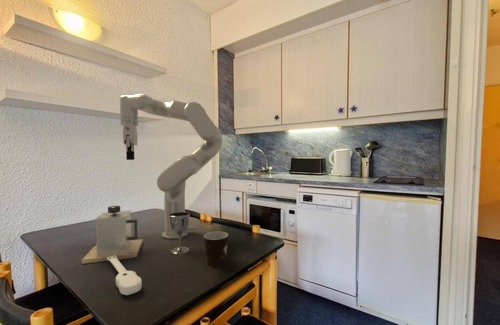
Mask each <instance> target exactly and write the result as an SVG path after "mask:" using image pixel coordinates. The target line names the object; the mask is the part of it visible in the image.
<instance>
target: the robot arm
mask: <svg viewBox="0 0 500 325" xmlns="http://www.w3.org/2000/svg"><path fill="white" fill-rule="evenodd" d="M119 111H120V112H119V113H120V125H121V126H122V142H123V144H124V145H125V147H126V148H125V150H126V152H125V154H126V160H127V161H130V160H131V161H134V160H135V146H138V145H139V144H138V143H139V142H138V128H137V127H138V126H139V116H138V115H139V111H142V112H144V113H146V114H150V115H153V116H158V117H164V118H170V119H175V120H181V121H185V122H189V124H190V125H191V126H192V127H193V129H194V130H195V131H196V133H197V135H198V136H199V137H200V138H201V139H202V140H203V141H204V142H203V143H201V144H200V145H199V146H198V147H197V148H196V149H194V151H192V153H190V154H189V155H182V156H181V157H179V158H178V159H176V160H175V161H173V163H171V164H170V165H169V166H168V167H167V168H166V169H164V170H163V171H162V172H161V173H160V174H158V175H159V176H158V178H157V180H156V185H157V188H158V189H159V190H160V191H161V192H163V193H164V200H163V201H164V207H163V208H164V231H163V232H162V233H161V237H162V238H163V239H167V240H170V239H171V240H174V239H178V236H177V234H176V233H175V232H174V231H173V230H172V229H171V227H170V222H169V214H171V213H174V212H186V185H187V184H186V181H187V180H188V179H190V178H191V177H192V176H194V175H196V174H197V173H198V172H199V171H200V170H201V169H203V167H205V166H206V165H207V164H208V163H209V162H211V160H212V159H213V158H214V157H216V155H218V153H219V152H220V151H221V148H222V144H223V137H222V133H221V130H220V129H219V127H218V126H216V124H215V123H214V122H213V120H212V119H211V118H210V116H209V115H208V113H207V112H206V109H205V108H204V107H203V105H202V104H200V103H199V102H196V101H190V102H185V101H184V102H183V101H179V100H171V101H169V102H168V101H162V100H157V99H153V98H152V97H150V96H148V95H146V94H144V93H138V94H134V95H133V94H132V95H130V94H125V95H124V94H123V95H121V96H120V98H119ZM192 230H196V225H192V224H189V225H188V228H187V229H186V230H185V232H184V233H183V235H182V237H181V238H184V237H187V236H188V235H189V233H190V231H192Z"/></svg>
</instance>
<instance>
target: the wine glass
mask: <svg viewBox="0 0 500 325" xmlns="http://www.w3.org/2000/svg"><path fill="white" fill-rule="evenodd" d="M190 216H191V215H190V212H189V211H185V212H174V213H171V214H169V222H170V227H171V229H172V230H173V231H174V232H175V233H176V234H177V236H178V238H177V239H178V247H175V248H172V249H171V251H170V253H172V255H173V254H174V255H183V254H185V253H187V252H189V251H190V248H189V247H186V246H182V238H183V237H182V235H183V233H184V232H185V230H186V229H187V228H188V226H189V225H190Z"/></svg>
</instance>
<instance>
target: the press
mask: <svg viewBox="0 0 500 325" xmlns="http://www.w3.org/2000/svg"><path fill="white" fill-rule="evenodd" d="M131 213H132V210H124V211H123V210H122V211H121V210H120V212H117V213H116V215H112V213H108V211H107V212H102V213H101V214H100V215H98V216H97V217H96V218H94V220H95V221H94V222H95V230H96V231H95V232H96V234H95V236H96V237H97V238H96V244H95V245H94V246H93V247H92V248H91V249H90V250H89V252H88V253H87V254H86V255H85V256H83V258H82V259H81V265H85V264H92V263H93V264H94V263H101V262H107V261H108V262H110V261H109V260H107V258H108V257H110V256H117V259H118V260H125V259H131V258H132V259H133V258H137V256H138V254H139V252H140V250H141V247H142V246H143V242H144V241H143V239H142V238H141V239H139V230H138V228H139V226H138V225H139V224H138V218H134V219H132V218H131V216H132V215H131ZM132 224H134V225H133V226H134V227H133V228H134V235H132ZM113 258H115V257H113ZM109 259H111V258H109Z"/></svg>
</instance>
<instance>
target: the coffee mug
mask: <svg viewBox="0 0 500 325" xmlns="http://www.w3.org/2000/svg"><path fill="white" fill-rule="evenodd" d="M228 239H229V234H228V233H227V232H225V231H221V230H220V231H219V230H217V231H210V232H207V233H205V234H204V235H203V240H204V246H205V254H206V263H207V266H208V265H209V266H208V267H210V266H212V267H211V268H220V267H219V266H221V267H223V266H225V265H226V264H227V263H226V262H227V253H228V252H227V251H228V241H229V240H228ZM224 264H225V265H224ZM222 265H223V266H222Z"/></svg>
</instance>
